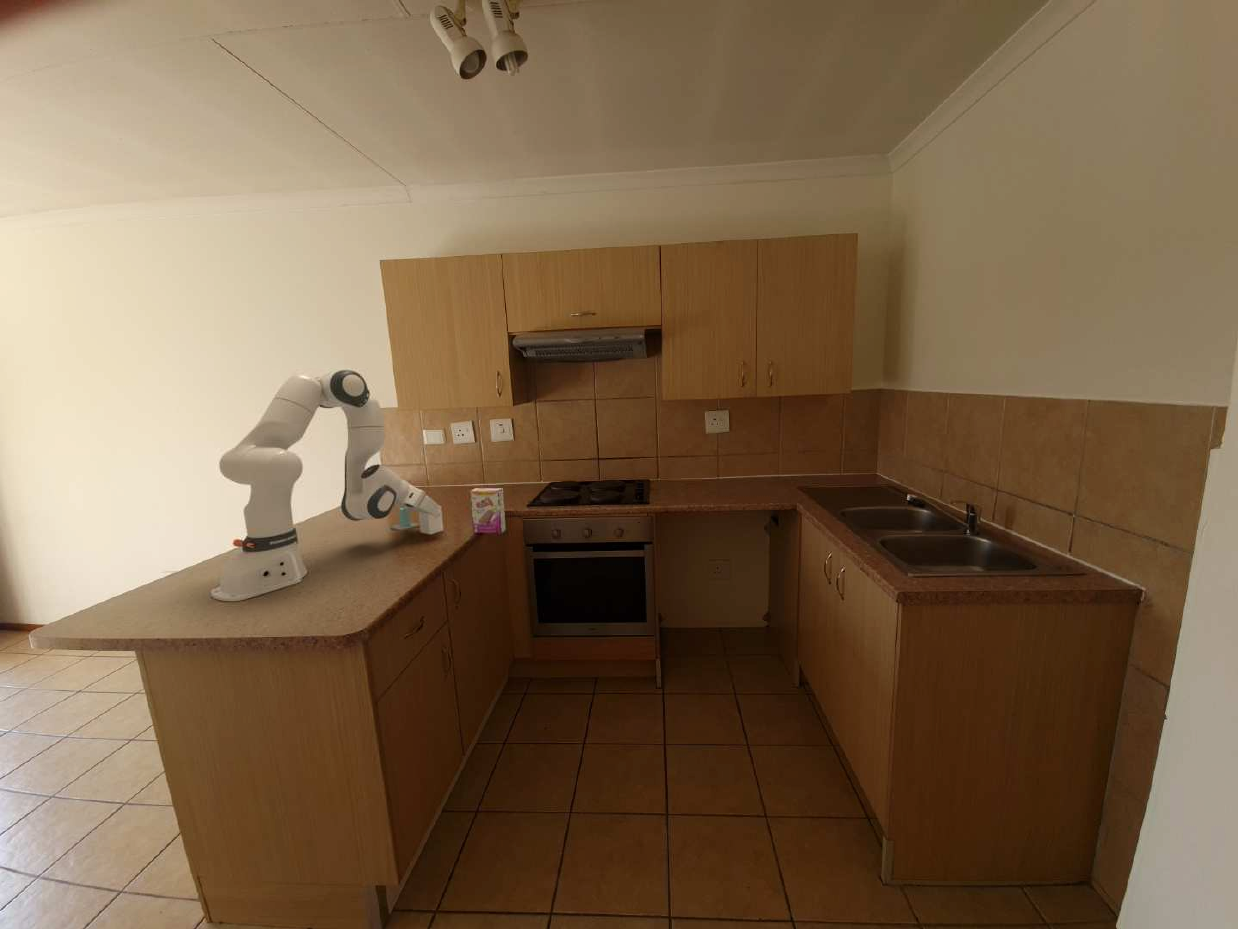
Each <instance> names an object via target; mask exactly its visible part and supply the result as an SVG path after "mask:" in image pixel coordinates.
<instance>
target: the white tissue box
mask: <svg viewBox="0 0 1238 929" xmlns="http://www.w3.org/2000/svg"><path fill="white" fill-rule="evenodd" d="M437 512H438V513H440V517H439V518H435V517H434V516H433V515H431V514H426V513H421V512H419V513H418V519H419V524H420V527H419V530H420V533H422V534H426V535H433V534H436V533H437V534H438V533H439V532H442V531H444V526H443V514H442V506H441V505H439V510H438V511H437Z"/></svg>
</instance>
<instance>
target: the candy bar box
mask: <svg viewBox="0 0 1238 929" xmlns="http://www.w3.org/2000/svg"><path fill="white" fill-rule="evenodd" d="M469 494H470V495H469V496H470V507H471V520H472V533H473V534H489V535H490V534H496V535H498V534H500V535H501V534H503V533H504V532H505V531H506V530H507V529H506V514H505V500H504V499H505V498H504V489H503V488H502V487H501V488H500V487H498V488H493V487H492V488H490V487H489V488H487V487H485V488H484V487H481V488H478V487H477V488H473V489H472V490H470V491H469Z"/></svg>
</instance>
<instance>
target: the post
mask: <svg viewBox="0 0 1238 929" xmlns="http://www.w3.org/2000/svg"><path fill="white" fill-rule="evenodd" d="M398 516H399V524H395V525H391V526H389V527H390V528H389V529H390V530H394V531H397V532H401V533H404V532H407V531H410V530H414V529H418V528H420V523H415V522H412V521H411V518H410V510H406V509H403V508H398Z"/></svg>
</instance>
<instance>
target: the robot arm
mask: <svg viewBox="0 0 1238 929" xmlns="http://www.w3.org/2000/svg"><path fill="white" fill-rule="evenodd" d="M319 408H323V409H335V408H341V410H342V411H343V413H344V415H345V418H346V429H347V447H346V450H345V456H344V491H343V495H342V500H341V503H340V506H341V508H340V509H341V511H342V514H343V515H344V517H345V518H346V519H348V520H350V521H353V522H356V521H357V522H359V521H364V520H365V521H366V520H379V519H384V518H386V517H387V516H388V515H389V514H390V513H391V511H392V510H393V507H394V505H395V506H396V507H397V508H398V509H400V508H403V509H406V510H409V511H412V512H415V513H417V514H419V512H421V513H426V514H431V515H433V516H434V517H435V518H439V517H440V513H438V512H437V511H438V510H439V506H440V505H439V504H438V503H437V502H436V501H435V500H433V498H431V497H429V495H427V494H426V492H425V491H424V490H422V489H420V488H417V487H415V486H414V485H413V484H411V483H409V482H408V481H407V480H406V479H402V478H401V477H400V476H399V475H398V473H396V472H395V471H393V470H391V469H390V468H388V467H387V466H385V465H383V464H372V465H370V466H368V467H367V468H366V466H367V463H368V462H369V460H370V459H371V458H372V457H374V456H375V455H376V454H377V453H379V452H380V451H381V450H382V449H383V447H384V446H385V441H386V432H385V423H384V417H383V413H382V410H381V406H380V403H379V400H377V398H376V397H373V396H371V393H370V390H369V388H368V385H367V382H366V380H365V379H364V377H363V375H361V374H360V373H359V372H356V371H354V370H349V369H343V370H338V371H334V372H333V371H332V372H328V373H325V374H323V375H321V376H317V377H315V378H314V377H313V376H310V375H307V374H303V373H299V374H298V373H296V374H293V375H291V376H290V377H289V378H288V379H287V380H286V381H284V383H283V384H282V385H281V387H280V388H279V389H278V391H277V392H276V393H275V395H274V397H273V398H272V400H271V402H270V404H269V405H268V406H267V408H266V410H265V412H264V413H263V415H262V417H261V418H260V420H259V421H258V422H257V424H256V425H255V426H254V427H253V428H252V429H251V430H250V431H249V433H248V434H246V435H245V436H244V438H242V440H240V442H238V444H237V445H236V446H234V447H233V448H231V449H229V450H228V451H226V452H225V453H224V454H223V455H222V456H221V457H220V459H219V470H220V472H221V474H222V476H224V478H226V479H228V480H229V481H232V482H235V483H237V484H240V485H247V486H250V495H249V500H248V502H247V504H246V505H245V506H244V507H243V516H244V521H245V529H246V534H247V535H246V536H245V538H244V540H243V539H238V538H236V539H234V540H233V541H232V545H233V546H234V547H238V548H242V550H241V552H240V553H239V554H237V556H236V557H235V558H234V559H232V560H231V561H230V562H229V563H228V564H227V565H226V566H225V567H224V568H223V569H222V571H221V572H220V576H219V577H220V578H219V585H220V586H218V587H215V588H213V589H211V591H210V596H211V597H212V599H216V600H218V601H222V602H223V601H224V602H240V601H244V600H247V599H250V598H251V599H252V598H253V597H257V596H261V595H263V594H268V593H270V592H273V591H276V590H280V589H282V588H286V587H290V586H293V585H296V584H299V583H301V582H302V579H303V578H304V577H305V576H306V575H307V574H308V570H307V569H306V566H305V565H304V563H303V559H302V557H301V554H300V550H299V547H298V544H299V542H298V540H299V539H298V534H297V533H298V532H297V529H296V527H295V526H294V520H293V519H294V518H293V513H292V512H293V510H292V498H293V497H292V496H293V495H292V494H293V491H294V486H295V484H296V482H297V481H298V480H299V478H300V477H301V476H302V474H303V469H304V468H303V467H304V466H303V465H304V464H303V462H302V460H301V458H300V456H299V455H297V454H296V453H294V452H293V451H289V448H291V447H292V446H294V445H295V444H297V443H298V442H300V441H301V440H302V438H303V437H304V435H305V433H306V431H307V429H308V427H309V425H310V423H311V422H312V420H313V418H314V416H315V414H316V412H317V409H319Z"/></svg>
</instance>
